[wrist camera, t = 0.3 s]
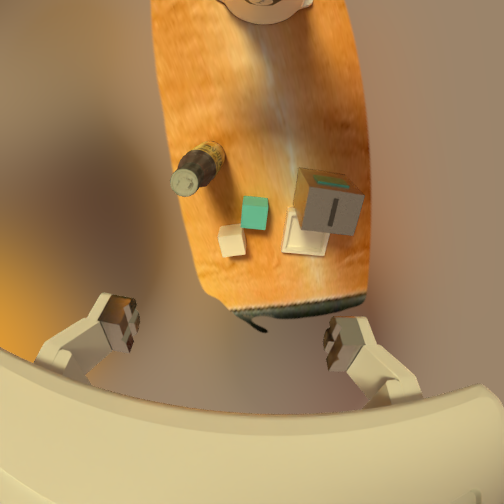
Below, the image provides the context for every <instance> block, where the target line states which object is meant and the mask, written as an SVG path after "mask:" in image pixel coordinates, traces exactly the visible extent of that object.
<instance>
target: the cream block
mask: <svg viewBox="0 0 504 504" xmlns="http://www.w3.org/2000/svg"><path fill="white" fill-rule="evenodd" d="M218 241H219V245H220V249H221V252H222V256H223V257H229V256H237V255H245V254H246V238H245V233H244V228H241V223H240V224H233V225H227V226H220V230H219V234H218Z"/></svg>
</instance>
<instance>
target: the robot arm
mask: <svg viewBox="0 0 504 504" xmlns="http://www.w3.org/2000/svg"><path fill="white" fill-rule="evenodd" d="M220 1H222V2H223V3H224V4H225V5H226V6H227V7H228V9H229V10H230V11H231V12H232V13H233V14H234V15H235V16H237V17H238V18H240V19H242V20H244V21H247V22H250V23H254V24H274V23H278V22H281V21H284V20H286V19H288V18H289V17H291V16H292V15H293V14H294V13H295V12H296V11H298V10H299V9H303V8H306V7H309V6H310V5H312V2H313V0H220ZM136 306H137V304H136V300H135V299H134V298H130V297H124V296H119V295H114V294H108V293H102V294H101V295H100V296H99V298H98V300H97V301H96V303H95V305H94V306H93V308H92V310H91V312H90V313H89V315H88V317H87V319H86V318H83V319H81V320H80V321H78V322H76V323H75V324H74V325H71V326H70V327H68V328H67V329H65V330H63V331H62V332H60V333H59V334H57V335H55V336H54V337H52V338H51V339H49V340H47V341H46V342H45V343H44V345H43V346H42V348H41V350H40V352H39V354H38V356H37V357H36V359H35V361H34V363H31V362H29V361H27V360H24V359H22V358H20V357H18V356H16V355H14V354H12V353H10V352H8V351H6V350H4V349H3V348H1V347H0V504H504V408H503V405H502V403H501V401H500V400H499V398H498V397H497V396H496V395H495V394H493V393H492V392H491V391H490V390H489V389H488V388H487V387H485V386H484V385H482V384H480V383H479V384H478V383H477V384H473V385H470V386H467V387H464V388H461V389H457V390H454V391H451V392H447V393H444V394H440V395H437V396H432V397H428V398H423V396H422V393H421V390H420V387H419V384H418V382H417V379H416V376H415V375H414V374H413V373H412V372H410V371H409V370H408V369H407V368H405V366H404V365H402V364H401V363H400V362H399V361H398V360H397V359H396V358H394V357H393V356H392V355H391V354H390V353H389V352H387V351H386V350H385V349H384V348H383V347H382V346H381V345H377V343H376V341H375V338H374V335H373V333H372V330H371V328H370V325H369V322H368V320H367V318H366V317H351V316H333V317H332V318H331V320H330V322H329V324H330V327H329V328H328V329H326V331H325V334H324V339H323V346H324V351H325V352H326V353H327V354H328V356H327V358H326V362H327V367H328V371H347V373H348V375H349V376H350V377H351V378H352V379H353V381H354V382H355V383H356V384H357V385H358V387H359V388H360V389H361V390H362V392H363V393H364V394H365V395H366V397H367V398H368V399H369V400H370V401H369V402H368V403H367V404H366V405H365V406H364V407H363V408H362V410H355V411H345V412H332V413H316V414H252V413H236V412H235V413H234V412H223V411H213V410H204V409H197V408H189V407H183V406H176V405H170V404H165V403H159V402H155V401H150V400H145V399H140V398H136V397H132V396H127V395H123V394H120V393H116V392H112V391H109V390H105V389H101V388H98V387H95V386H92V385H91V383H90V382H89V380H88V379H87V377H86V376H85V374H87V373H88V372H89V371H90V370H91V369H92V368H93V367H94V366H96V365H97V364H98V363H99V362H100V361H101V360H102V359H104V358H105V357H106V356H107V355H108V354H109V353H110V352H112V350H114V351H120V352H125V353H130V351H131V348H132V345H133V343H134V340H133V336H134V335H136V334H137V332H138V330H139V324H140V316H139V312H138V311H137V310H136V309H135V308H136Z"/></svg>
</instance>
